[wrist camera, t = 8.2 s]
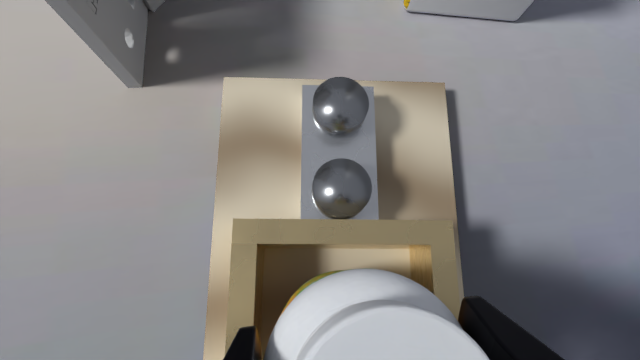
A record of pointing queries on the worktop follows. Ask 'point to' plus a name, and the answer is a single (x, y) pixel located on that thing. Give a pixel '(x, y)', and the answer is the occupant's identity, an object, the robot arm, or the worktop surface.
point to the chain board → (285, 185)
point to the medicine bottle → (471, 8)
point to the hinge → (112, 32)
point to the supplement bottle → (368, 321)
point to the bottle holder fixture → (337, 207)
